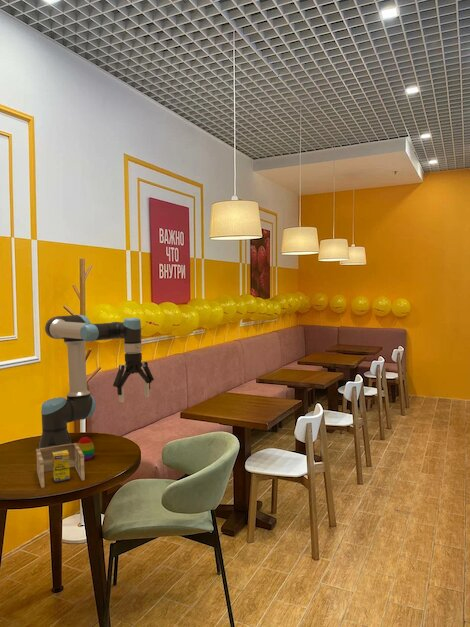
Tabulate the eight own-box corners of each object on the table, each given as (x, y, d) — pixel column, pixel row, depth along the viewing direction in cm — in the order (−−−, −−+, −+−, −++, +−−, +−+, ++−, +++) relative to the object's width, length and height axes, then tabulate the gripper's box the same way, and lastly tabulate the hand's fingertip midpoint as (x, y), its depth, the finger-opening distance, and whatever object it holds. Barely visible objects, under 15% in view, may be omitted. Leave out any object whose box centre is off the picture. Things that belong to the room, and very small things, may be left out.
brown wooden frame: (36, 472, 205) (35, 449, 204) (77, 465, 212) (76, 442, 212) (40, 488, 188) (39, 462, 187) (85, 479, 195) (84, 455, 195)
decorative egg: (82, 462, 215) (81, 440, 215) (72, 459, 220) (71, 437, 220) (98, 457, 221) (97, 436, 221) (88, 454, 227) (87, 433, 226)
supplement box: (54, 483, 192) (53, 456, 192) (52, 478, 198) (51, 451, 197) (70, 480, 195) (69, 453, 195) (68, 475, 200) (67, 449, 200)
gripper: (113, 356, 205) (115, 405, 205) (160, 350, 223) (161, 395, 224) (104, 354, 210) (105, 403, 211) (150, 349, 228) (151, 393, 229)
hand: (134, 399), depth 217 cm, fingers open, 13 cm apart
